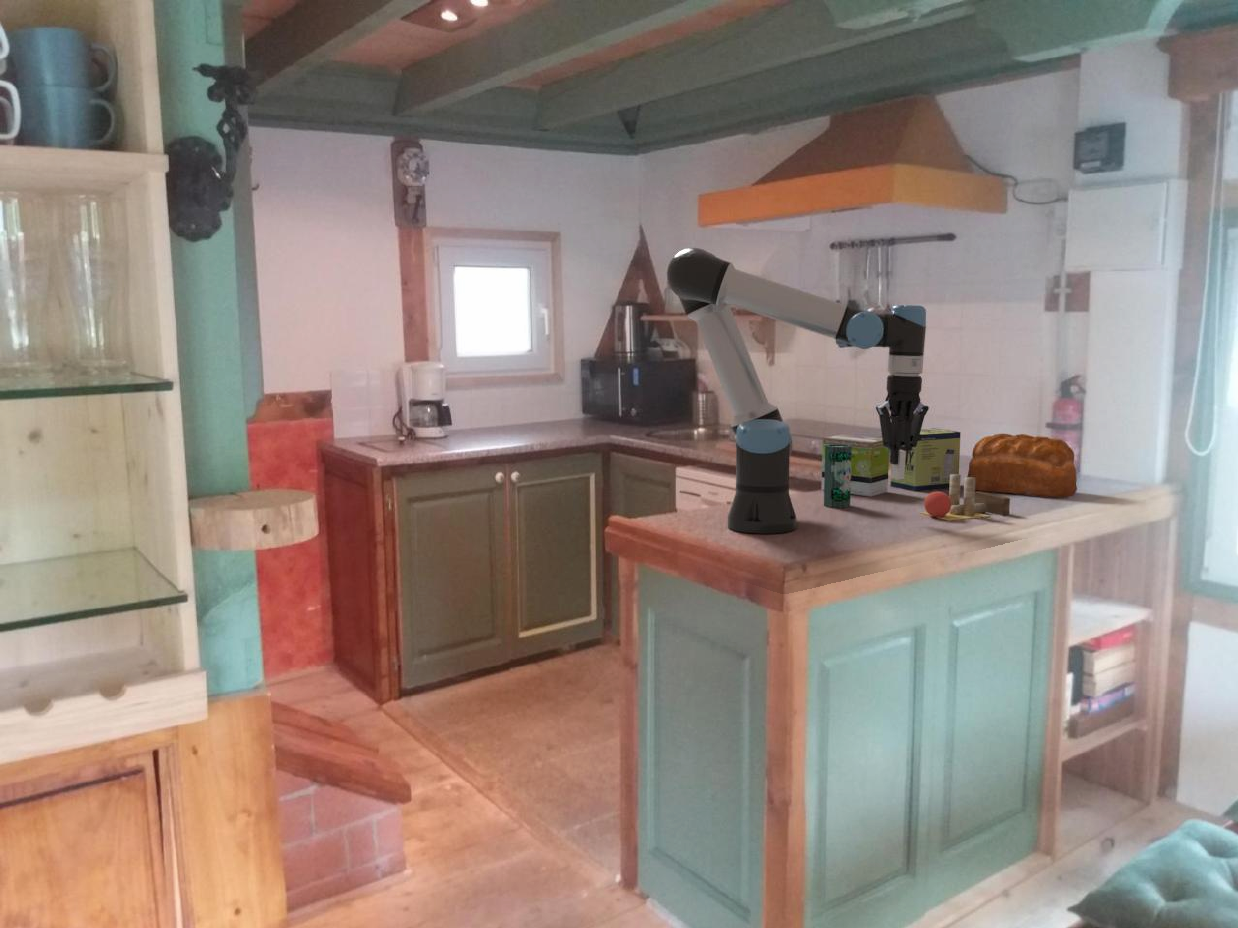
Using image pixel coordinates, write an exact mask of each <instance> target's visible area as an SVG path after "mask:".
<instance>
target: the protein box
mask: <svg viewBox="0 0 1238 928" xmlns="http://www.w3.org/2000/svg"><path fill="white" fill-rule="evenodd" d="M961 433H962V432H961V431H956V430H955V431H954V430H950V429H942V428H921V431H920V435H919V438H918V442H917V446H916V447H913V448H912V450H911V451H908V462H907V464H905V472H904V479H899V480H898V479H895V478H891V477H890V487H893V486H894V487H893V488H898V489H901V490H906V491H911V492H915V493H917V492H926V491H925V490H927V491H934V489H937V490H945V489H949V487H950V475H951V474H957V475H960V455H961ZM891 474H892V464H891V463H890V475H891Z"/></svg>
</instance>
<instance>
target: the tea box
mask: <svg viewBox="0 0 1238 928" xmlns="http://www.w3.org/2000/svg"><path fill="white" fill-rule="evenodd" d="M829 444H845V445H851V446H852V456H851V495H857V496H862V497H873V496H878V495H882V494H884V493H887V492H888V487H889V471H890V469H889V466H890V465H889V463H890V449H888V448H887V447H885V446H883V440H882V437H881V438H880V437H873V436H863V435H862V436H861V435H850V434H837V435H833V436H827V437H822V450H821V451H822V454H821V455H822V457H821V459H822V461H821V491H824V478H825V445H829Z"/></svg>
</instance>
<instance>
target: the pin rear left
mask: <svg viewBox="0 0 1238 928" xmlns="http://www.w3.org/2000/svg"><path fill="white" fill-rule="evenodd" d="M961 476H962V475H961V474H959V475H957V474H951V475H950V487H949V488H948V489H949V493H948V496H949V498H950V500H951V506H952V505H961V504H960V501H961V500H960V498H961V481H962V480H961Z"/></svg>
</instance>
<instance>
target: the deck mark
mask: <svg viewBox="0 0 1238 928" xmlns="http://www.w3.org/2000/svg"><path fill="white" fill-rule="evenodd" d="M919 513H920V514H922V515H925V516H930V517H932V516H931V515H930V514H928V513H927V511H920V512H919ZM981 517H983V518H989V517H991V515H988V514H985V513H974V516H963V514H960V515H952V514H950V513H949V512H948V513H947V514H946V515H945V516H942V517H935V518H937V519H940V520H944V521H947V522H948V521H950V522H951V521H959V520H960V521H961V520H972V519H981ZM971 518H972V519H971Z"/></svg>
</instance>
